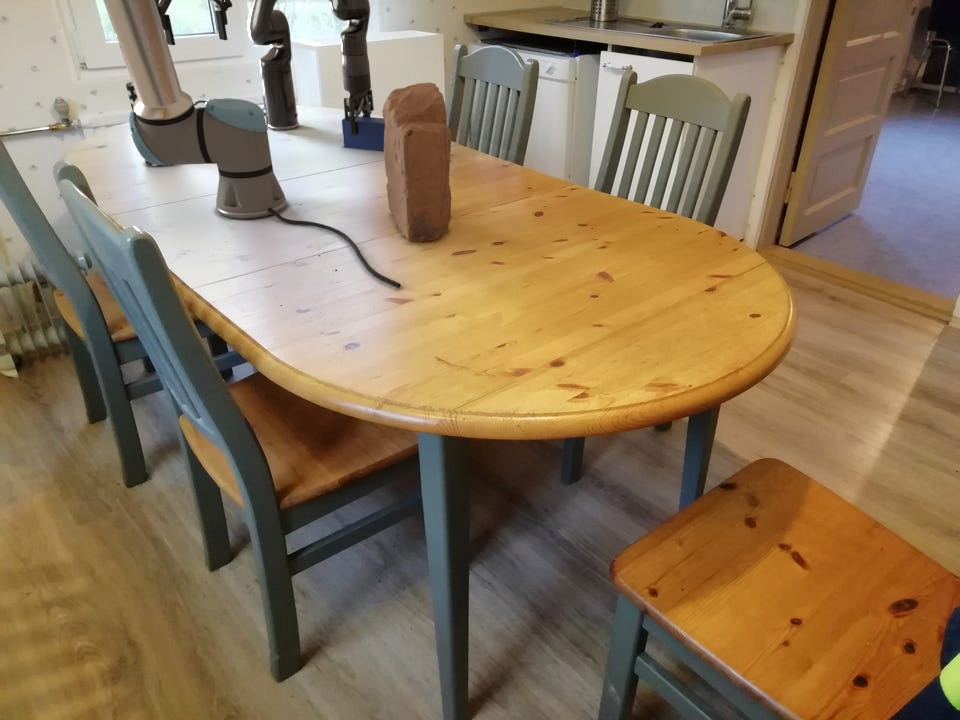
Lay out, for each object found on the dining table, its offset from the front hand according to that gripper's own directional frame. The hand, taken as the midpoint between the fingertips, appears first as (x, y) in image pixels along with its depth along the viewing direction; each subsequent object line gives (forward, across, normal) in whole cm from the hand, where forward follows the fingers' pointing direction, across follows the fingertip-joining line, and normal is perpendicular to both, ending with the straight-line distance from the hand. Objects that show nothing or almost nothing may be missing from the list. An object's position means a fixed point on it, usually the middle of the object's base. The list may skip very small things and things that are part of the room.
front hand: (198, 42), depth 171 cm
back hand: (+26, -38, +13) cm, 47 cm away
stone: (+31, -10, +71) cm, 78 cm away
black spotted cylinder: (+20, +11, -11) cm, 25 cm away
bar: (+30, -42, +20) cm, 55 cm away
